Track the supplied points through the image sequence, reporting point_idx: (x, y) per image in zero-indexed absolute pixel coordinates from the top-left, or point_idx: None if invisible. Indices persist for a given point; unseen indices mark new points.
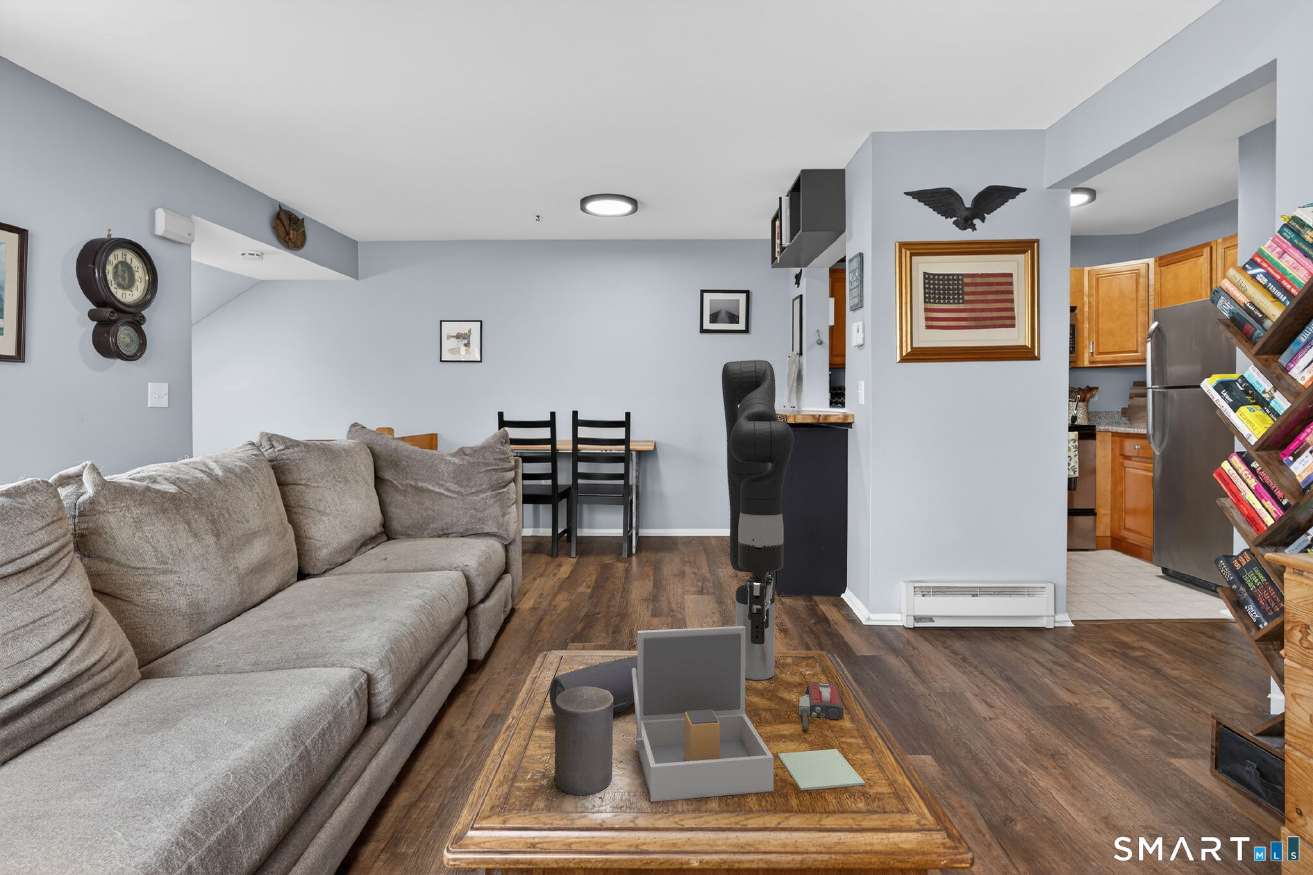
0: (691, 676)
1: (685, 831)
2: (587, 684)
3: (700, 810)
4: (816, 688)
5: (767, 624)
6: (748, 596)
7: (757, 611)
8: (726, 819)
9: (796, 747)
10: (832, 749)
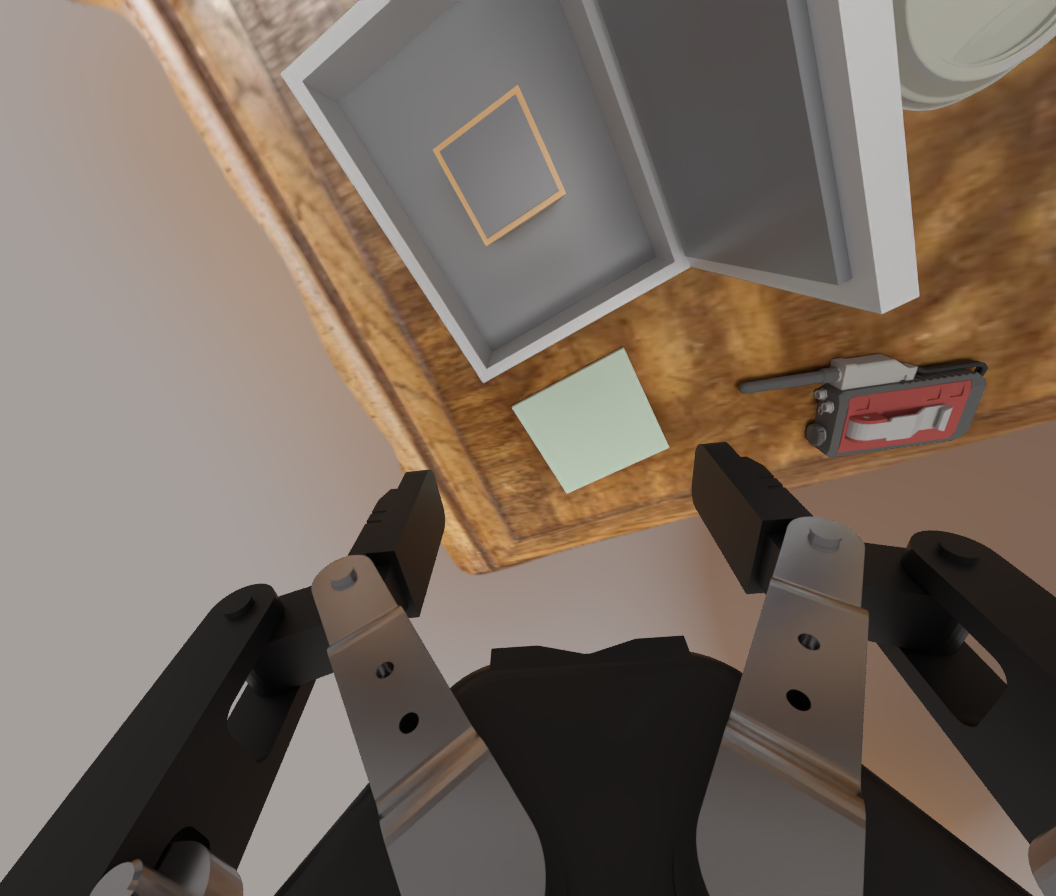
0: (663, 28)
1: (285, 230)
2: None
3: (362, 238)
4: (938, 397)
5: (700, 508)
6: (348, 710)
7: (743, 505)
8: (363, 298)
9: (667, 376)
10: (665, 441)
